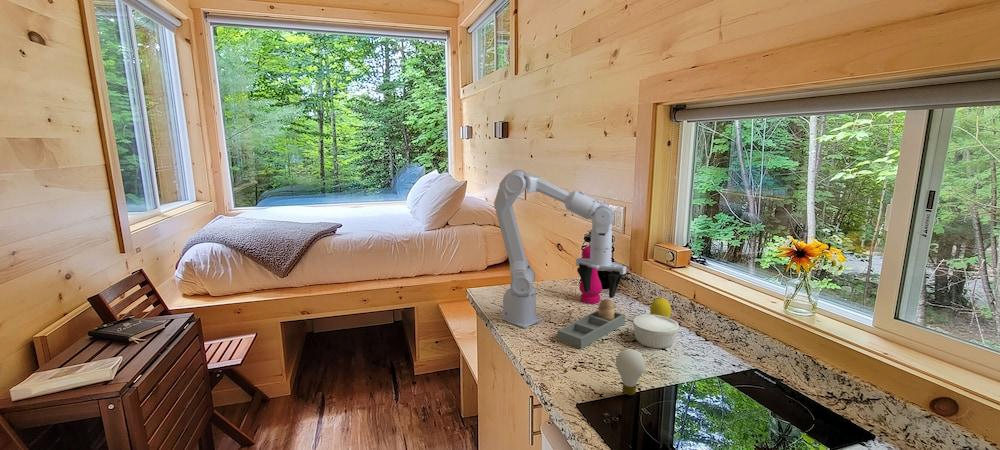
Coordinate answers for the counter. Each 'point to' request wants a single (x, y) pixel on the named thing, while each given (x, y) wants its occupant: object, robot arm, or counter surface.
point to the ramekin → (655, 330)
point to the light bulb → (630, 369)
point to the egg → (606, 310)
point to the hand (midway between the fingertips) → (599, 293)
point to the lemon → (660, 307)
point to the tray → (589, 329)
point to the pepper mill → (596, 286)
